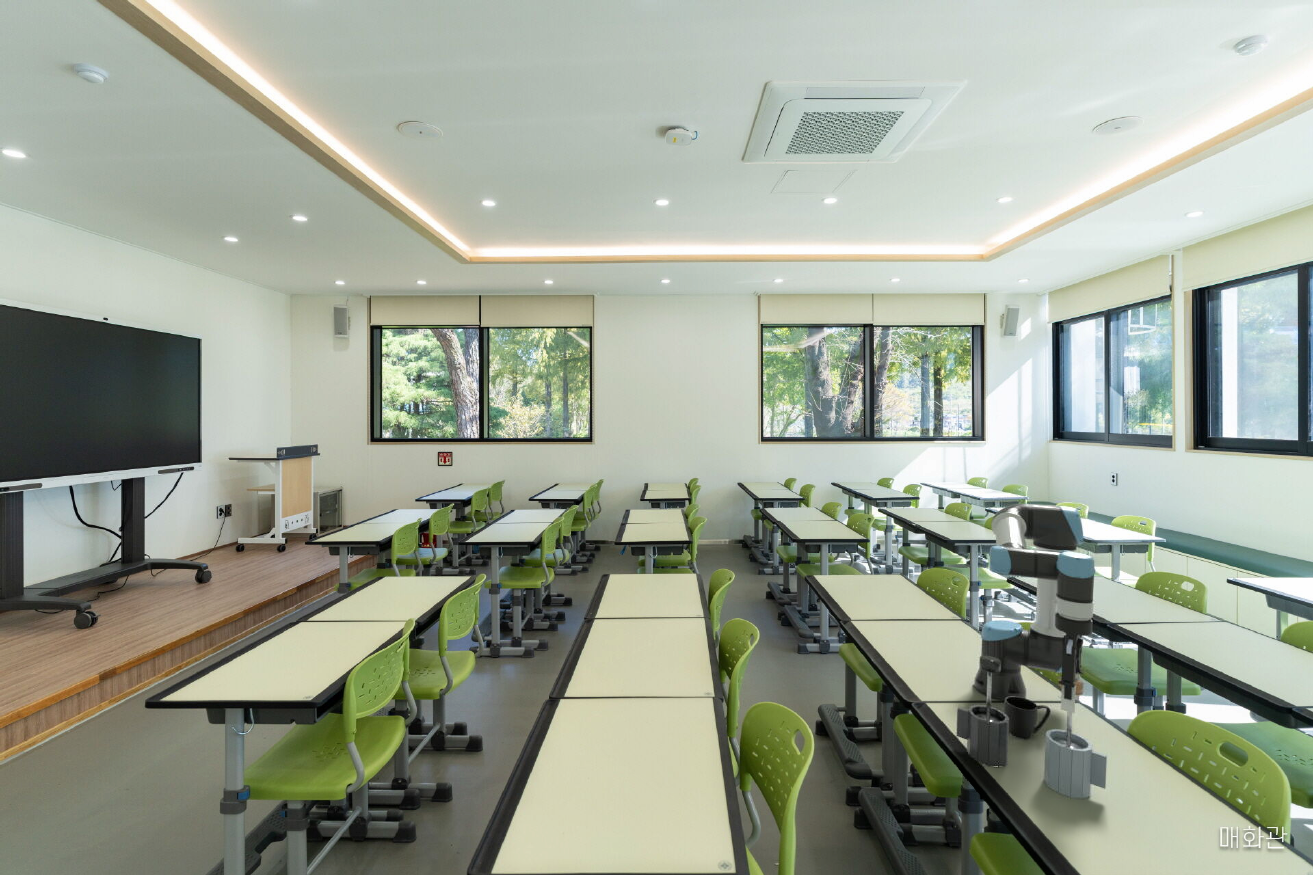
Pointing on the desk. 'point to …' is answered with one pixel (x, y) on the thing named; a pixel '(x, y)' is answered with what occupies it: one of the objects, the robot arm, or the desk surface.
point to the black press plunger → (989, 683)
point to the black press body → (984, 735)
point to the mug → (1023, 716)
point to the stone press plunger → (1068, 741)
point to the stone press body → (1073, 765)
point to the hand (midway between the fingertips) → (1070, 703)
